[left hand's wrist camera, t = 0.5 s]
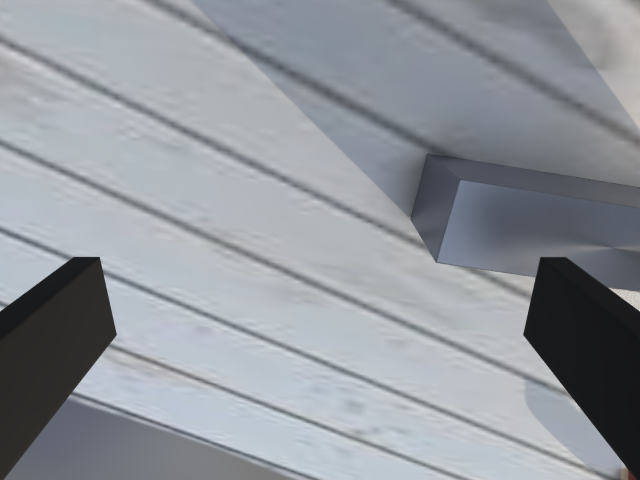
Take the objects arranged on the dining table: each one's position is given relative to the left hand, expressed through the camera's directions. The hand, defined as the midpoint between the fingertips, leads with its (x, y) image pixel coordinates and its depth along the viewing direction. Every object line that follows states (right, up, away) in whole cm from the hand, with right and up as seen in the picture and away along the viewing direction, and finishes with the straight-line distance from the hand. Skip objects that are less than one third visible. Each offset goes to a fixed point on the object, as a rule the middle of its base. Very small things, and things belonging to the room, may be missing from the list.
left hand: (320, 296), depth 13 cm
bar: (+20, +5, +23) cm, 31 cm away
